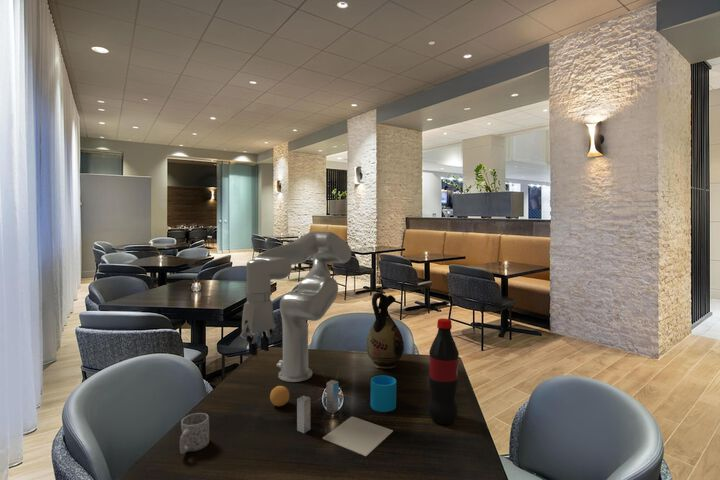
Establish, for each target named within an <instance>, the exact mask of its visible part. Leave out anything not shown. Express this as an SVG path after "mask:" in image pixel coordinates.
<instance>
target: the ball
mask: <svg viewBox="0 0 720 480" xmlns="http://www.w3.org/2000/svg"><path fill="white" fill-rule="evenodd" d="M269 399H270V402H271V404H272V405H274V406H276V407H282V406H285V405H286V404H287V403H288V401H289V399H290V392H289V389H288V388H287V387H285V386H284V385H277V386H275V387H273V388H272V389H271V391H270V394H269Z"/></svg>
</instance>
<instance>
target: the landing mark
mask: <svg viewBox="0 0 720 480" xmlns="http://www.w3.org/2000/svg"><path fill="white" fill-rule="evenodd" d="M393 432H394V430H393V429H390V428H387V427H385V426H381V425H378V424H375V423H372V422H370V421H368V420H367V421H366V420H364V419H362V418H359V417H355V416H350V417H349V418H347V419H346V420H345V421H343V422H342V423H341V424H339V425H338V426H337V427H335V428H333V429H332V430H331V431H329V432H328V433H327V434H326V435H324V436H323V437H322V440H324V441H327V442H330V443H332V444H335V445H337V446H339V447H341V448H344V449H347V450H349V451H351V452H354V453H356V454H359V455H361V456H364V457H367V456H368V455H370V454H371V452H373V451H374V450H375V449H376V448H377V447H378V446H379V445H380V444H381V443H383V442H384V440H386V438H388V437H389V436H390V435H391V434H392V433H393Z"/></svg>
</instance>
